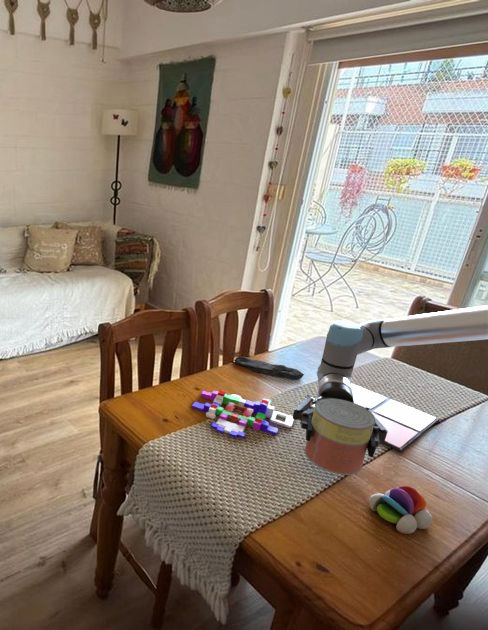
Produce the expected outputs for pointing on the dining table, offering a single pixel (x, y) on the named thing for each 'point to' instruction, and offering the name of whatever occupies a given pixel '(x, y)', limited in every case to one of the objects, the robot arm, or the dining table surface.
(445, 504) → the dining table surface
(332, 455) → the canned food
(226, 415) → the building block set
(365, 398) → the board
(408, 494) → the rainbow cloud toy
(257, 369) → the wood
